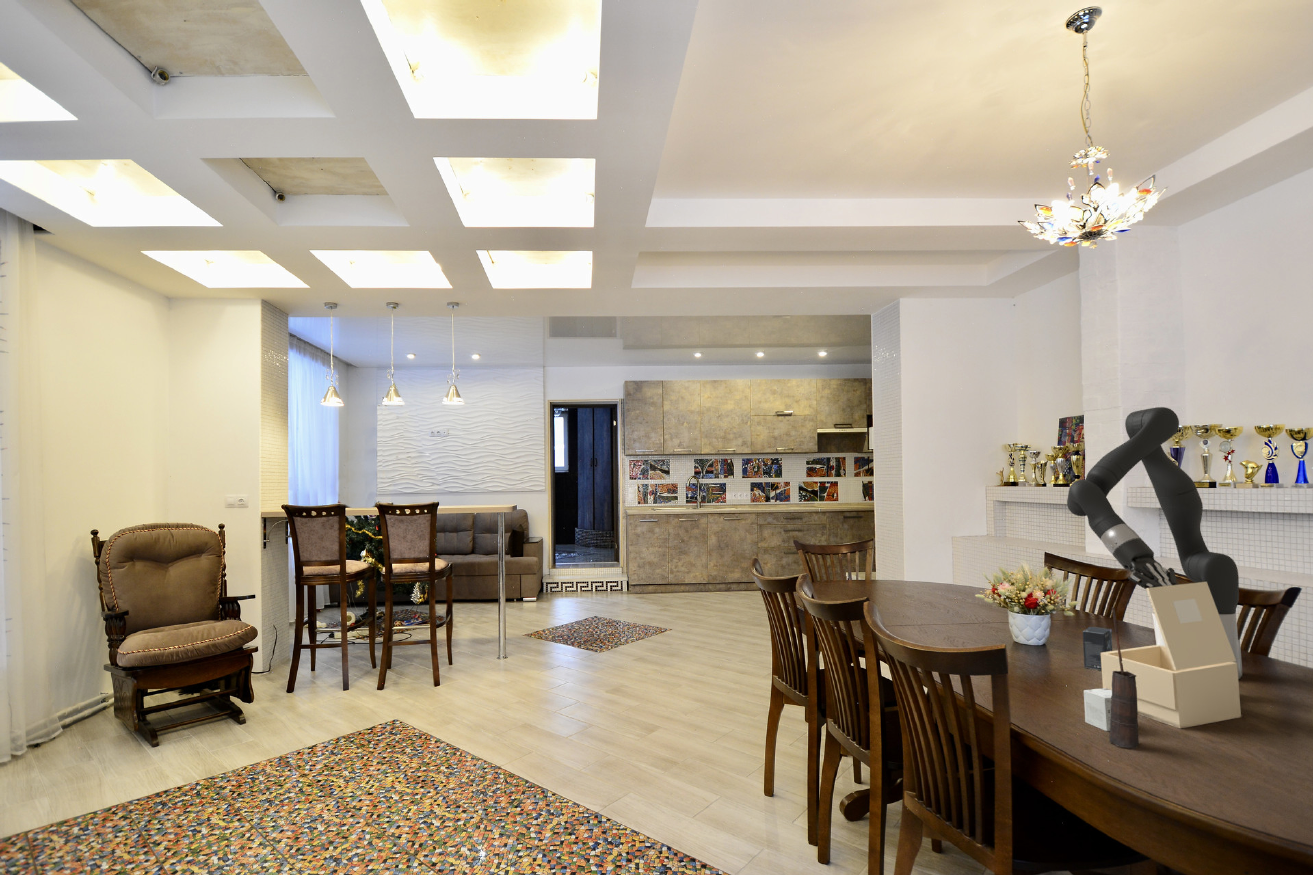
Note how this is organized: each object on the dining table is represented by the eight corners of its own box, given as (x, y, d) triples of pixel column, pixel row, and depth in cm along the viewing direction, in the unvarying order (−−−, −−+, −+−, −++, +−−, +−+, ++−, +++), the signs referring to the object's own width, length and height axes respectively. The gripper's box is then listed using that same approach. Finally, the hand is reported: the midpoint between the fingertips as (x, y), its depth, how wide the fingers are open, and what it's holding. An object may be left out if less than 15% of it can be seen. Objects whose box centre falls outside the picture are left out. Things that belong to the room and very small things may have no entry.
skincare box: (1107, 732, 149) (1104, 697, 150) (1084, 722, 155) (1082, 689, 156) (1130, 729, 150) (1128, 695, 151) (1107, 719, 156) (1105, 686, 157)
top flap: (1204, 582, 162) (1207, 581, 162) (1233, 661, 156) (1236, 660, 156) (1145, 588, 157) (1148, 587, 156) (1173, 670, 151) (1177, 670, 150)
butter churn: (1167, 756, 136) (1157, 614, 138) (1115, 754, 138) (1105, 614, 139) (1143, 738, 145) (1134, 605, 147) (1094, 736, 147) (1085, 605, 148)
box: (1107, 671, 192) (1104, 633, 192) (1084, 667, 196) (1081, 630, 196) (1114, 665, 197) (1111, 628, 198) (1091, 662, 201) (1089, 625, 202)
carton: (1161, 692, 173) (1158, 644, 174) (1242, 716, 155) (1238, 663, 156) (1101, 702, 167) (1098, 652, 168) (1178, 728, 150) (1174, 673, 150)
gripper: (1115, 538, 167) (1168, 598, 154) (1156, 535, 170) (1211, 593, 158) (1097, 557, 171) (1147, 616, 159) (1136, 554, 175) (1188, 611, 163)
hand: (1179, 604), depth 159 cm, fingers closed
